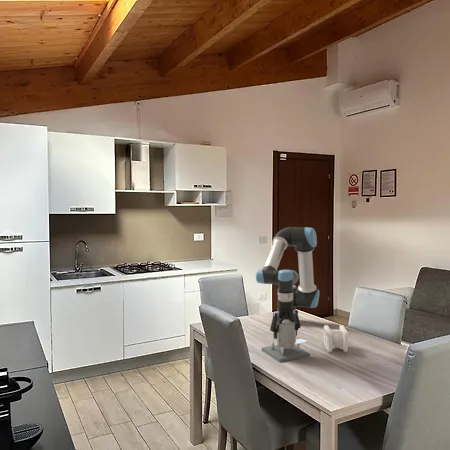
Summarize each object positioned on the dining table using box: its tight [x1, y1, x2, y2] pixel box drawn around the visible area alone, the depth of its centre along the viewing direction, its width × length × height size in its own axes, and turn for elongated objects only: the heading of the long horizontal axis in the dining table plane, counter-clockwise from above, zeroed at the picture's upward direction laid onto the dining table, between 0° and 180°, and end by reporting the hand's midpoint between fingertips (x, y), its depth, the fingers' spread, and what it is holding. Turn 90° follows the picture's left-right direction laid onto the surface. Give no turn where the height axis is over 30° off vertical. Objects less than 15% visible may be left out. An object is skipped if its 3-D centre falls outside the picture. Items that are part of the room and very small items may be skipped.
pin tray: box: [261, 340, 311, 363], centre depth 223 cm, size 18×18×6 cm
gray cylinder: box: [275, 319, 296, 349], centre depth 223 cm, size 10×10×12 cm
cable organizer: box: [323, 324, 349, 353], centre depth 229 cm, size 15×11×12 cm
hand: (285, 343), depth 223 cm, fingers closed on gray cylinder, 9 cm apart
